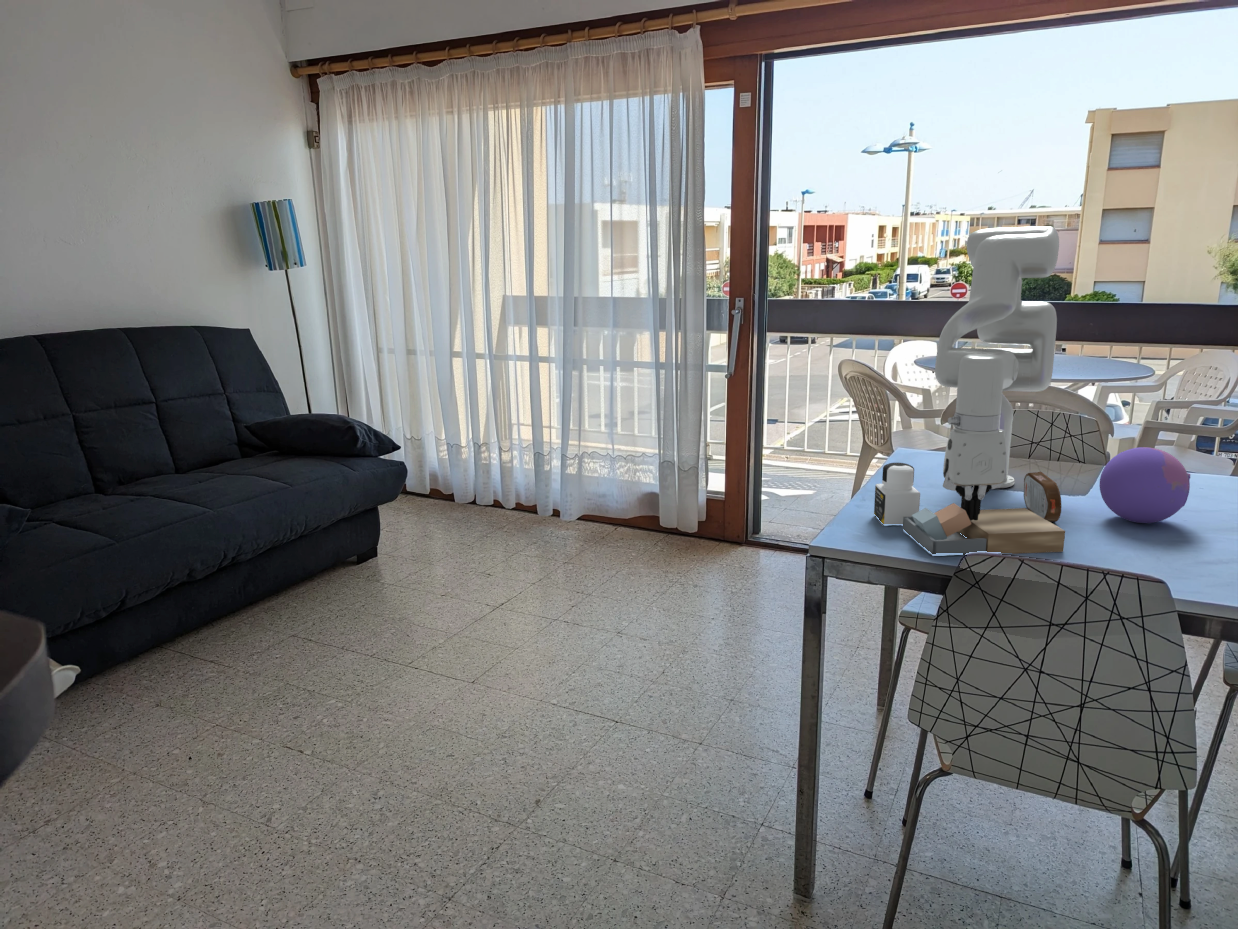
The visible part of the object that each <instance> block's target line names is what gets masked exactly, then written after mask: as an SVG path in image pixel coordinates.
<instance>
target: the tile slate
mask: <svg viewBox="0 0 1238 929" xmlns="http://www.w3.org/2000/svg"><path fill="white" fill-rule="evenodd" d="M934 513H935V512H932V511H931V510H930V509H928V508H927V507H924V508H923V509H921V510H919V512H917V513H915V514H913V515H912V517H913V519H914V521H915V523H916V525H917V526H919V527H920V528H921V529H922V530H924V531H925V532H926V533H927V534H928V535H930V536H931V537H932V538H933V539H935V540H945V539H947V536H946V534H945V532H944V530H943V528H942V526H941V523H940V521H939V519H938V517H937V515H935V514H934Z"/></svg>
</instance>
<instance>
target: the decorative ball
mask: <svg viewBox="0 0 1238 929" xmlns="http://www.w3.org/2000/svg"><path fill="white" fill-rule="evenodd" d="M1190 479H1191V473H1188V472H1187V470H1186V468H1185V467H1184V465H1183V464H1182V462H1181V461H1180V460H1178V459H1177V457H1175V456H1174V455H1173V454H1170V453H1168V452H1166V451H1165V450H1162V449H1159V448H1153V447H1150V446H1149V447H1146V446H1145V447H1143V446H1141V447H1133V448H1129V449H1127V450H1124V451H1121V452H1119V453H1118V454H1116V455H1115V456H1113V457H1112V458H1110V459H1109V461H1108V462H1107V463H1106V464H1105V466H1104V467H1103V469H1102V471H1101V474H1100V477H1099V492H1100V495H1101V498H1102V500H1103V502H1104V504H1105V505H1106V506H1107V508H1108V509H1109V510H1111V512H1113V513H1114V514H1115V515H1117V516H1118V517H1120V518H1121V519H1124V520H1127V521H1129V522H1133V523H1138V524H1152V523H1158V522H1161V521H1164V520H1166V519H1168V518H1171V517H1172V516H1174V515H1175V514H1176V513H1177V512H1179V511H1180V510H1181V509H1182V508H1184V506H1185V505H1186V503H1187V501H1188V499H1189V494H1190V488H1191V486H1190V485H1191V482H1190Z"/></svg>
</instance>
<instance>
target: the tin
mask: <svg viewBox="0 0 1238 929" xmlns="http://www.w3.org/2000/svg"><path fill="white" fill-rule="evenodd" d="M1061 497H1062V496H1061V492H1060V488H1059V485H1057V483H1056V481H1054V480H1053V479H1052V478H1050V477H1049V476H1047V475H1046V474H1045V473H1043V472H1042V471H1038V472H1037V471H1035V472H1028V473H1026V474H1025V476H1024V478H1023V500H1024V504H1025V506H1026V509H1028V510H1029V511H1031V512H1033V513H1035V514H1037V515H1038V516H1040V517H1042V518H1044V519H1045V520H1047V521H1049V522H1051V523H1052V522H1053V523H1055V522H1056V523H1057V522H1058V521H1059V520H1060V517H1061V514H1062V498H1061Z"/></svg>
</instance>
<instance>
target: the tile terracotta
mask: <svg viewBox="0 0 1238 929" xmlns="http://www.w3.org/2000/svg"><path fill="white" fill-rule="evenodd" d="M933 513H934V514H935V515H937V517H938V519H939V521H940V523H941V526H942V528H943V530H944V532H945V534H946V536H947V537H948V536H950V535H952V534H954V533H956V532H958V531H960V530H962V529H963V528H965V527H967V526H969V525H971V521H970V519H969V517H968V515H967V513H966V511H965V510H964V509H962V508H961V506H959V505H958V504H956V503H954V502H953V503H951V504H949V505H947V506H945V507H944V508H942V509H939V510H938V511H935V512H933Z"/></svg>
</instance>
